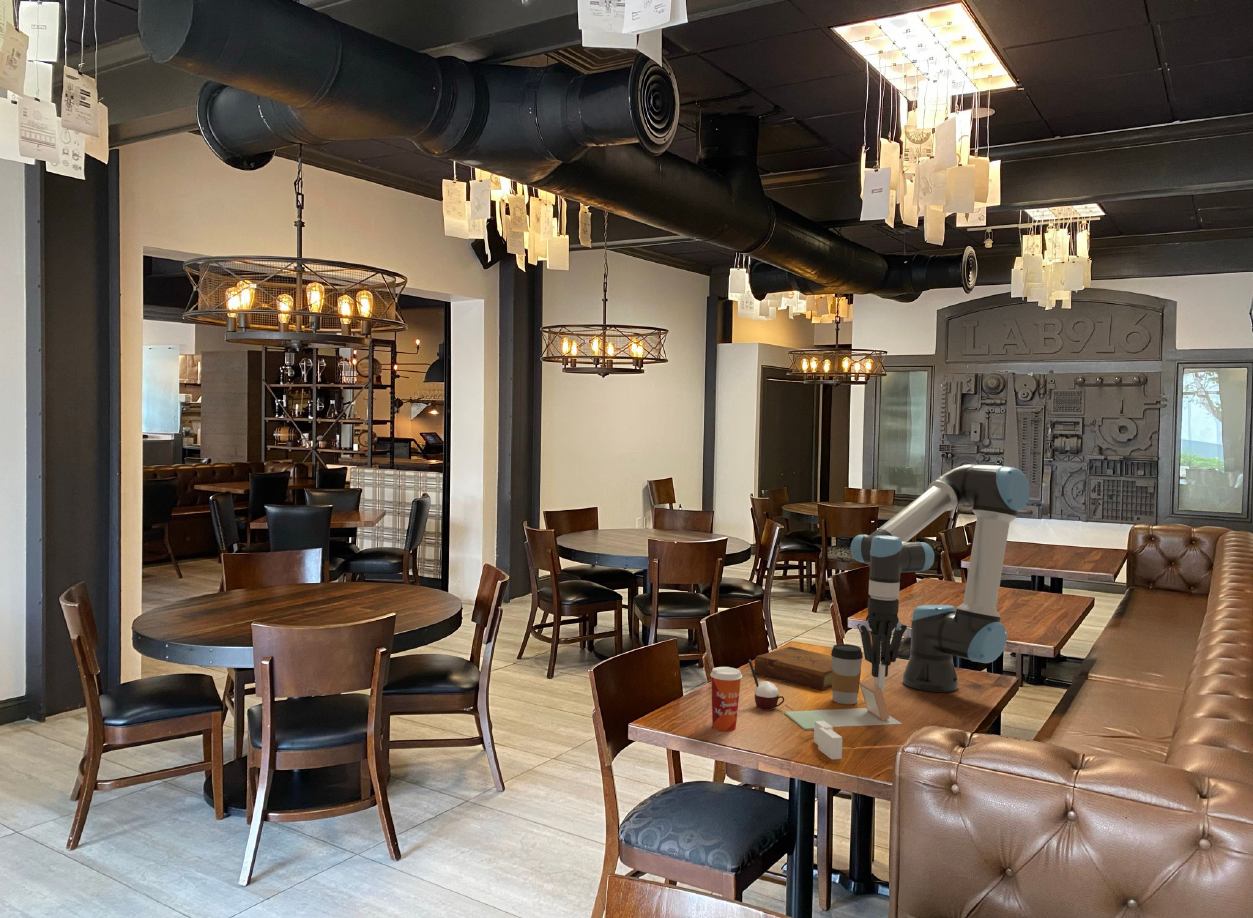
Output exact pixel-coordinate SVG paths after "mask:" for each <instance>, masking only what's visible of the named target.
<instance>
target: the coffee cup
mask: <svg viewBox="0 0 1253 918" xmlns="http://www.w3.org/2000/svg"><path fill="white" fill-rule="evenodd" d="M863 655H864V652H863V650H862V647H861V646H857V645H855V644H854V645H853V644H849V643H848V644H846V643H838V644H834V645H833V646H832V649H831V653H830V656H832V688H831V691H832V700H833V702H834V703H837V704H840V705H846V706H847V705H855V704H857V703H858V697H859V696H858V695H859V692H860V691H859V690H860V682H861V674H862V662H863V661H862V660H863V658H864V656H863Z"/></svg>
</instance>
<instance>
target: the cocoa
mask: <svg viewBox="0 0 1253 918" xmlns="http://www.w3.org/2000/svg"><path fill="white" fill-rule="evenodd" d="M748 664H749V668H750V671H751V673H752V676H753V680H754V683H755V687H754V702H755V705H756V706H757V707H758V708H759V709H761V710H764V711H766V710H767V711H770V710H774V709H775V708H778V707H779V706H781V705H782V704H784V702H785V698H784V696H782V695H779V689H778V688H777V686H776V685H775V684H774V683H772V682H771V681H760V682H759V681H758V679H757V674H755V671H754V668H755V667H754V664H753V663H752V660H751V659H749V660H748ZM779 699H782V701H781V702H779ZM778 702H779V703H778Z"/></svg>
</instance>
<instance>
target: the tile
mask: <svg viewBox="0 0 1253 918" xmlns="http://www.w3.org/2000/svg"><path fill="white" fill-rule="evenodd" d="M859 688H860V689H861V690H860V691H861V693H862V697H863V700H864V703H865V704H864V705H865V708H867V711H868V712H870V713H871V714H873V715H874V716H876V717H877V718H879V719H880V720H882V721H884V720H887V719H889V716H890V715H889V714H890V713H889V711H888V707H887V704H886V700H885V697H884V693H883V691H882V690H881V688H879V687H877V686H876V685H874V683H872V682H871V681H869V680H868V679H865V680H863V681H860V684H859Z"/></svg>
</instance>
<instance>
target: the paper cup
mask: <svg viewBox="0 0 1253 918" xmlns="http://www.w3.org/2000/svg"><path fill="white" fill-rule="evenodd" d="M710 677H711V718H712V728H713V729H714V730H715V731H721V732H732V731H735V730H736V728H737V727H736V726H737V719H738V711H739V701H740V700H739V699H740V688H741V679H742V678H743V675H742V672H741V670H740V669H738V668H735V667H730V666H718V667H713V668H712V670H711V673H710Z"/></svg>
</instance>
